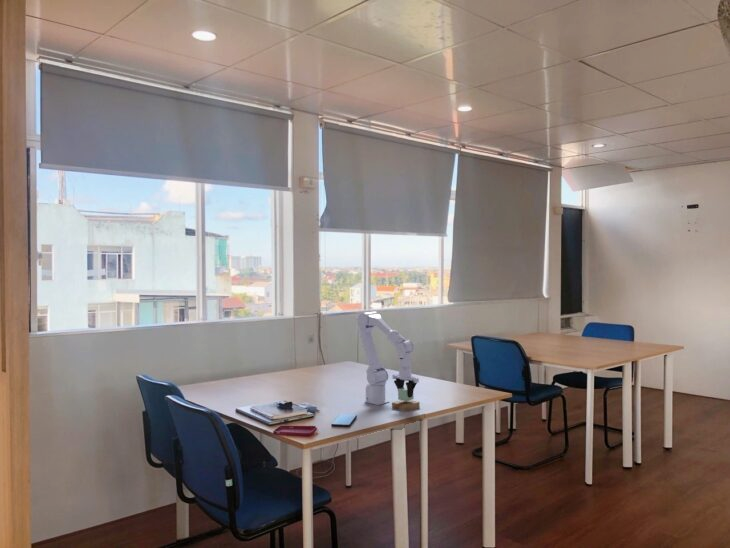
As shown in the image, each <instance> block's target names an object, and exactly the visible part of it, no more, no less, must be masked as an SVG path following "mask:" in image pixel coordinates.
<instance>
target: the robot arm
mask: <svg viewBox="0 0 730 548" xmlns="http://www.w3.org/2000/svg"><path fill="white" fill-rule="evenodd" d="M356 321H357V325H358V333H359V336H360V337H359V338H360V340H361V344H362V347H363V351H364V353H365V357H366V361H367V364H368V367H367V369H366V381H367V383H368V384H366V387H365V400H364V403H368V404H372V405H375V406H380V405H385V404H387V403H390V401H389V400H386V384H387V381H388V380H389V373H388V371H387V370H386V368H385V367H386V366H385V365H383V364H382V363H381V362H380V359H379V356H378V352H377V349H376V345H375V341H374V339H373V335H372V331H373V329H374V328H375V327H376V328H378V329H379V330H380V331H381V332H383V334H385V335H386V340H388V341H389V343H391V344H392V345H393V346H394V347H395V351H396V353H397V357H398V374H396V373H394V374H392V377H391V378H392V379H393V383H394V385H395V386H396V389H397V390H398V389H399V388H403V387H407V391H408V397H409V398H410V397H412V395H414V390H415V388H416V385H417V384H418V383H419V380H420V379H419V378H418V377H416V376H413V375H412V352H413V351H414V344H413V342H412V340H410V339H406V338H405V337H404V336H403V335H401V334H400V332H399V331H398V330H395V329H392V328H391V327H390V326H389V325H388V324H387V323H386V322H385V320H383V318H382V315H381V314H379V313H378V311H376V310H375V311H368V312H367V311H366V312H360V313H359V314H358V316H357V318H356Z"/></svg>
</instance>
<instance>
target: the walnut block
mask: <svg viewBox="0 0 730 548" xmlns="http://www.w3.org/2000/svg"><path fill="white" fill-rule="evenodd" d="M391 409H394V410H398V411H402V412H406V413H407V412H410V411H413V410H414V411H415V410H417V409H420V402H419V401H415V400H413V399H412V400H409V401H403V400H399V399H398V400H396V401H392V402H391Z"/></svg>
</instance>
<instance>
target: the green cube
mask: <svg viewBox="0 0 730 548" xmlns="http://www.w3.org/2000/svg"><path fill="white" fill-rule="evenodd" d="M397 393H398V394H397V396H398V397H397V398H398V399H397V400H398V401H399V400H403V401H409V400H412V401H413V400H414V397H415V396H414V394H413V395H412V397H410V398H409V397H408V391H407V386H404V387H403V388H399V389H397Z"/></svg>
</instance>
